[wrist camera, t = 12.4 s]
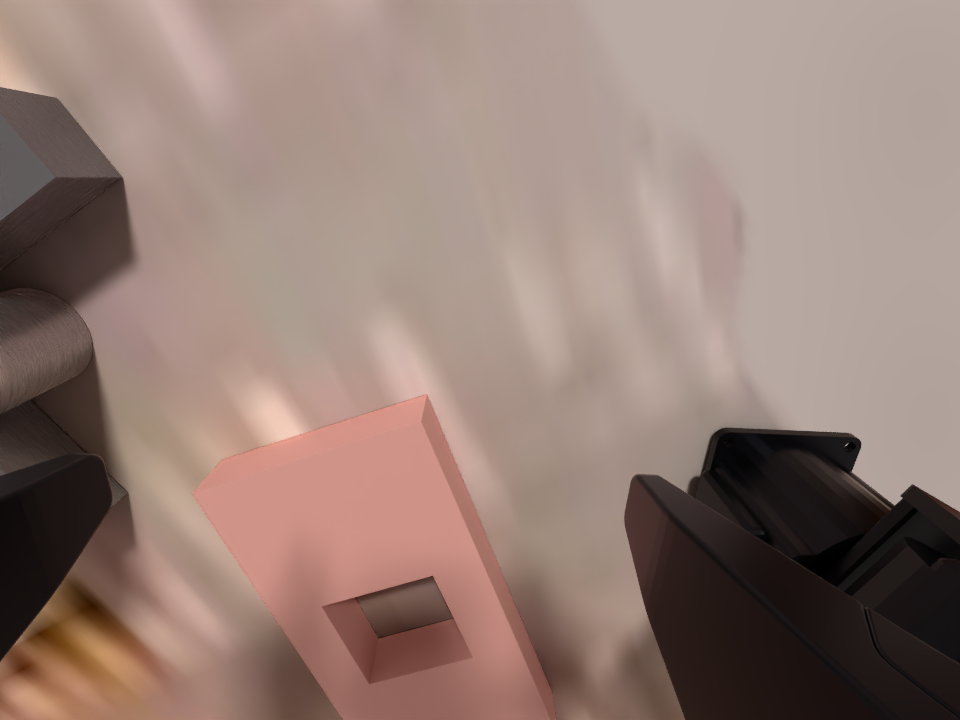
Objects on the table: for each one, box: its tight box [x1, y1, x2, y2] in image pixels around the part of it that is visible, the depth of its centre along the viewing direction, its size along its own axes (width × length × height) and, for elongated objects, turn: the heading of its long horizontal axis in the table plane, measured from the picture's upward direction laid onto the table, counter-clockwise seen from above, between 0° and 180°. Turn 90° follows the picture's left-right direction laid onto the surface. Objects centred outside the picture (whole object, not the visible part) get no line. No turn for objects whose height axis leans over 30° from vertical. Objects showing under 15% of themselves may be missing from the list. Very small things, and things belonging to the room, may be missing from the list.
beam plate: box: [192, 394, 556, 720], centre depth 24 cm, size 20×10×2 cm, turn 19°
